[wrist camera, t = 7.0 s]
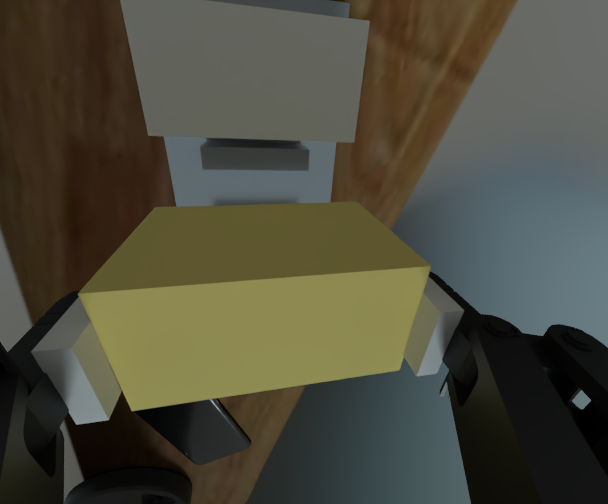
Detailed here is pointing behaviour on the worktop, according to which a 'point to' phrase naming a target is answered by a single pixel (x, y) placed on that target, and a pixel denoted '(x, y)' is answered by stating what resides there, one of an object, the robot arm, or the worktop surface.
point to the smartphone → (198, 429)
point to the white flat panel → (245, 70)
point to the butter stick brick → (253, 300)
